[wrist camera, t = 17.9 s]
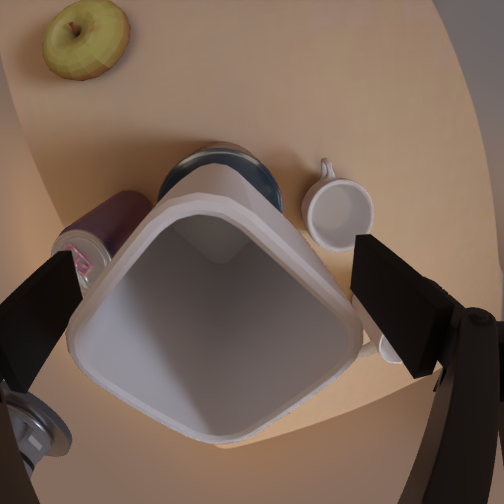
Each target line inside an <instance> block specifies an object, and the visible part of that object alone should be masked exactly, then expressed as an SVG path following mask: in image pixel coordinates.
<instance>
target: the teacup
mask: <svg viewBox="0 0 504 504" xmlns="http://www.w3.org/2000/svg"><path fill="white" fill-rule="evenodd" d="M301 212H302V216H303V221H304V225H305V227H306V229H307V231H308V233H309V235H310V236H311V238H312V239H313V240H314V241H315V242H316V243H317V244H318V245H320V246H321V247H323V248H324V249H326V250H329V251H333V252H345V251H349V250H351V249H354V247H355V236H356V235H361V234H369V233H370V231H371V228H372V225H373V221H374V207H373V203H372V200H371V198H370V196H369V194H368V193H367V191H366V190H365V189H364V188H363V187H362V186H360V185H359V184H357V183H355V182H353V181H351V180H347V179H343V178H338V177H336V176H335V174H334V171H333V168H332V165H331V163H330V161H329V160H328V159H327V158H322V159H321V177H320V179H319V181H318V182H316V183H315V184H314V185H313V186H311V188H310V189H309V190H308V192H307V193H306V195H305V197H304V199H303V202H302V206H301Z"/></svg>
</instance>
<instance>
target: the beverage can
mask: <svg viewBox="0 0 504 504" xmlns="http://www.w3.org/2000/svg"><path fill="white" fill-rule="evenodd" d="M151 210H152V207H151V205H150V203H149V201H148V200H147V199H146V198H145V197H144V196H143V195H141V194H140V193H138V192H135V191H122V192H119V193H117V194H116V195H114V196H113V197H111V198H110V199H108V200H106V201H105V202H103V203H102V204H100V205H99V206H97V207H96V208H94V209H93V210H91V211H90V212H88V213H87V214H85V215H84V216H82V217H81V218H80V219H78V220H77V221H75V222H74V223H72V224H71V225H70V226H68V227H67V228H65V229H64V230H63V231H62V232H61V234H60V235H59V237H58V238H57V239H56V241H55V242H54V244H53V247H52V250H51V257H52V256H53V255H54V254H55V253H57V252H58V251H66V250H72V255H73V260H74V264H75V268H76V273H77V277H78V281H79V285H80V289H81V292H82V296H84V297H85V296H86V294H87V293H88V291H89V290H90V289H91V287H92V286H93V284H94V283H95V282H96V280H97V279H98V278H99V276H100V275H101V273H102V272H103V271H104V269H105V268H106V267H107V265H108V264H109V263H110V261H111V260H112V259H113V257H114V256H115V255H116V254H117V252H118V251H119V250H120V248H121V247H122V246H123V245H124V243H125V242H126V241H127V239H128V238H129V237H130V236H131V234H132V233H133V232H134V231H135V229H136V228H137V227H138V226H139V225H140V223H141V222H142V221H143V220H144V218H145V217H146V216H147V215H148V214H149V213H150V211H151Z"/></svg>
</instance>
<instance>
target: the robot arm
mask: <svg viewBox="0 0 504 504" xmlns="http://www.w3.org/2000/svg"><path fill="white" fill-rule="evenodd" d="M350 289H351V291H352V292H353V293H354V295H355V296H356V297H357V299H358V300H359V301H360V303H361V304H362V305H363V307H364V308H365V310H366V311H367V312H368V314H369V315H370V316H371V318H372V319H373V321H374V322H375V323H376V325H377V326H378V328H379V329H380V330H381V332H382V333H383V335H384V336H385V337H386V339H387V340H388V342H389V343H390V345H391V346H392V347H393V349H394V350H395V352H396V353H397V355H398V356H399V358H400V359H401V360H402V362H403V363H404V365H405V366H406V368H407V369H408V371H409V372H410V374H411V375H412V377H413V378H414V379H416V378H420V377H424V376H427V375H431V374H432V373H433V370H434V368H435V365H436V362H437V360H438V361H439V363H440V364H441V365H442V366H443V368H442V371H441V373H440V376H439V378H438V380H437V383H436V385H435V387H434V390H433V391H434V392H436V393H435V397H434V401H433V405H432V408H431V412H430V415H429V419H428V422H427V426H426V429H425V432H424V436H423V438H422V442H421V445H420V448H419V450H418V453H417V456H416V459H415V462H414V464H413V467H412V470H411V472H410V475H409V477H408V480H407V482H406V485H405V487H404V490H403V493H402V494H401V497H400V499H399V501H398V503H397V504H487V502H488V497H489V492H490V487H491V481H492V476H493V469H494V463H495V455H496V446H497V437H498V431H499V436H500V443H501V450H502V456H503V465H504V321H496V319H495V317H494V316H493V315H492V314H491V313H489V312H488V311H486V310H483V309H480V308H475V307H470V308H465V307H464V306H462V305H461V304H460V303H459V302H458V301H457V300H456V299H454V298H453V297H452V296H451V295H450V294H449V295H448V292H446V291H445V290H444V289H442V287H441V286H439V285H438V284H437V283H436V282H434V281H432V280H430V279H428V278H426V277H423V276H422V275H420V274H419V273H418V272H417V271H416V270H415V269H413V268H412V267H411V266H410V265H408V264H407V263H406V262H405V261H404V260H402V259H401V258H400V257H399V256H397V255H396V254H395V253H394V252H392V251H391V250H390V249H389V248H387V247H386V246H385V245H384V244H382V243H381V242H380V241H379V240H377V239H376V238H375V237H373V236H372V235H371V234H361V235H356V236H355V247H354V258H353V268H352V277H351V286H350ZM82 300H83V296H82V292H81V289H80V285H79V281H78V277H77V273H76V268H75V264H74V260H73V255H72V250H66V251H58V252H57V253H55V254H54V255H53V256H52V257H51V258H50V259H49V260H47V261H46V262H45V263H44V264H43V265H42V266H41V267H39V268H38V269H37V270H36V271H35V272H34V273H33V274H32V275H31V276H30V277H29V278H27V279H26V280H25V281H24V282H23V283H22V284H21V285H20V286H19V287H18V288H17V289H16V290H15V291H14V292H13V293H11V295H9V296H8V297H7V298H6V299H5V300H4V301H3V302H2V303H1V304H0V383H1V382H2V380H3V379H4V380H5V381H6V383H7V385H8V387H9V389H10V390H11V391H13V392H18V393H23V394H26V393H27V391H28V389H29V388H30V386H31V384H32V382H33V381H34V379H35V377H36V376H37V374H38V372H39V371H40V369H41V367H42V366H43V364H44V362H45V361H46V359H47V358H48V356H49V354H50V353H51V351H52V349H53V348H54V346H55V345H56V343H57V342H58V340H59V339H60V337H61V336H62V334H63V333H64V331H65V329H66V328H67V326H68V323H69V320H70V317H71V316H72V314H73V313H74V311H75V310H76V309H77V307H78V306H79V304H80V303H81V301H82ZM52 445H53V437H52V435H51V433H50V432H49V431H48V429H47V428H46V427H45V426H44V425H43V424H42V423H41V422H40V421H39V420H38V419H37V418H36V417H34V416H33V415H32V414H30V413H29V412H27V411H26V410H24V409H23V408H21V407H19V406H17V405H15V404H12V403H9V402H6V399H5V395H4V392H3V390H2V388H1V386H0V504H40V502H39V500H38V498H37V495H36V493H35V491H34V488H33V486H32V483H31V481H30V479H31V476H32V473H33V470H34V468H35V465H36V464H37V463H38V462H39V461H40V460H41V459H42V457H43V456H44V455H45V454H47V453H48V452H49V451H50V449H51V447H52Z"/></svg>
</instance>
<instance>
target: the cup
mask: <svg viewBox="0 0 504 504" xmlns="http://www.w3.org/2000/svg"><path fill="white" fill-rule="evenodd" d="M65 335H66V341H67V346H68V351H69V353H70V355H71V356H72V358H73V360H74V361H75V363H76V365H77V366H78V368H79V369H80V370H81V371H82V372H83V373H84V374H85V375H86V376H88V377H89V378H90V379H91V380H92V381H93V382H94V383H96V384H97V385H99V386H100V387H102V388H103V389H105V390H106V391H108V392H109V393H111V394H112V395H114V396H116V397H117V398H119V399H121V400H122V401H124V402H125V403H127V404H128V405H130V406H132V407H134V408H135V409H137V410H139V411H140V412H142V413H144V414H145V415H147V416H149V417H151V418H153V419H154V420H156V421H158V422H160V423H162V424H163V425H165V426H167V427H169V428H171V429H173V430H175V431H177V432H179V433H181V434H183V435H185V436H187V437H189V438H192V439H195V440H198V441H201V442H204V443H214V444H226V443H233V442H239V441H241V440H244V439H246V438H249V437H251V436H253V435H255V434H257V433H258V432H260V431H262V430H263V429H265V428H266V427H268V426H269V425H271V424H273V423H274V422H276V421H277V420H279V419H280V418H282V417H283V416H285V415H286V414H288V413H289V412H291V411H292V410H294V409H295V408H297V407H298V406H300V405H301V404H302V403H304V402H305V401H307V400H308V399H310V398H311V397H312V396H314V395H315V394H317V393H318V392H319V391H321V390H322V389H323V388H325V387H326V386H327V385H329V384H330V383H331V382H333V381H334V380H335V379H337V378H338V377H339V376H340V375H342V374H343V373H344V371H345V370H346V369H347V368H348V367H349V366H350V365H351V364H352V363H353V362H354V361H355V360H356V358H357V355H358V353H359V351H360V349H361V346H362V344H363V323H362V322H361V320H360V318H359V317H358V315H357V313H356V311H355V310H354V308H353V307H352V305H351V304H350V302H349V301H348V299H347V298H346V296H345V295H344V293H343V292H342V290H341V289H340V287H339V286H338V284H337V283H336V281H335V280H334V278H333V277H332V275H331V274H330V272H329V271H328V269H327V268H326V266H325V265H324V263H323V262H322V261H321V259H320V258H319V257H318V255H317V254H316V253H315V251H314V250H313V249H312V248H311V246H310V245H309V244H308V242H307V241H306V240H305V238H304V237H303V236H302V235H301V234H300V233H299V232H298V231H297V229H296V228H295V227H294V226H293V225H292V224H291V223H290V222H289V221H288V220H287V219H286V218H285V217H284V216H283V215H282V214H281V213H280V212H279V211H278V210H277V209H276V208H275V207H274V206H273V205H272V204H271V203H270V202H269V201H268V200H267V199H266V198H265V197H264V196H263V195H262V194H260V193H259V192H258V191H257V190H256V189H255V188H254V187H253V186H252V185H251V184H250V183H249V182H248V181H247V180H246V179H245V178H244V177H242V176H241V175H240V174H239V173H238V172H237V171H235V170H234V169H232V168H230V167H229V166H227V165H223V164H216V163H212V164H208V165H204V166H200V167H199V168H197V169H195V170H194V171H192V172H191V173H190V174H188V175H187V176H186V177H184V178H183V179H182V180H180V181H179V182H178V183H177V184H176V185H175V186H174V187H173V188H171V189H170V190H169V191H168V193H167V194H166V195H165V196H164V197H163V198H162V199H161V200H160V201H159V202H158V204H157V205H156V206H155V207H154V208H153V209H152V210H151V211H150V213H149V214H148V215H147V216H146V217H145V218H144V220H143V221H142V222H141V223H140V225H139V226H138V227H137V228H136V229H135V231H134V232H133V233H132V234H131V236H130V237H129V238H128V239H127V241H126V242H125V243H124V245H123V246H122V247H121V248H120V250H119V251H118V252H117V254H116V255H115V256H114V257H113V259H112V260H111V261H110V263H109V264H108V265H107V267H106V268H105V269H104V271H103V272H102V273H101V275H100V276H99V278H98V279H97V280H96V282H95V283H94V284H93V286H92V287H91V289H90V290H89V291H88V293H87V294H86V296H85V297H84V298H83V300H82V301H81V303H80V304H79V306H78V307H77V309H76V310H75V311H74V313H73V314H72V316H71V317H70V320H69V323H68V326H67V330H66V332H65Z"/></svg>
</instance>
